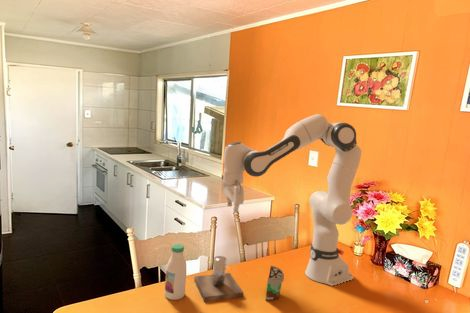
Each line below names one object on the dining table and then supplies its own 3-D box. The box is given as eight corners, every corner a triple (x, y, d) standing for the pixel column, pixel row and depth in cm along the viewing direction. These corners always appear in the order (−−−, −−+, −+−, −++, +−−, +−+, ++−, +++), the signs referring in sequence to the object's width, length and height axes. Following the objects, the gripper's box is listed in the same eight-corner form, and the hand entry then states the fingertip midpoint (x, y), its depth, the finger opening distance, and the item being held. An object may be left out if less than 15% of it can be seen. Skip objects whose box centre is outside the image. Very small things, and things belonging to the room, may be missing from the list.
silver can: (222, 280, 140) (224, 255, 138) (225, 286, 135) (227, 261, 134) (210, 281, 138) (212, 256, 137) (213, 287, 134) (216, 262, 132)
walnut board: (229, 277, 147) (229, 272, 147) (243, 296, 133) (243, 292, 132) (194, 280, 142) (194, 276, 141) (204, 301, 127) (204, 297, 127)
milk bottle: (182, 288, 135) (186, 241, 132) (186, 299, 127) (189, 249, 125) (163, 290, 132) (166, 242, 129) (165, 301, 125) (169, 250, 122)
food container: (281, 305, 129) (283, 281, 127) (265, 302, 130) (267, 278, 129) (282, 289, 141) (285, 267, 139) (268, 287, 142) (270, 264, 141)
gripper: (247, 183, 139) (246, 215, 141) (233, 174, 159) (232, 202, 160) (233, 183, 137) (232, 216, 139) (220, 174, 157) (220, 203, 158)
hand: (232, 208), depth 150 cm, fingers open, 8 cm apart
